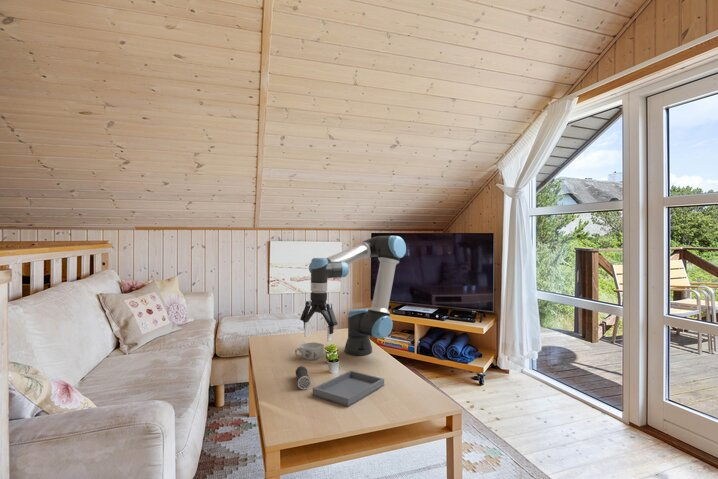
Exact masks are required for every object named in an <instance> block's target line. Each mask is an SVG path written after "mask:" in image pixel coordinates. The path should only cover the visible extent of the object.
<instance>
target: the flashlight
mask: <svg viewBox="0 0 718 479" xmlns="http://www.w3.org/2000/svg"><path fill="white" fill-rule="evenodd" d="M295 376H296V377H297V378H296V380H297V381H296V382H297V386H298V388H299V389H301V390H304V391H305V390H307V389H309V388H310V386H311V384H312V383H311V382H312V381H311V378H310V376H309V374H308V369H307V368H306V367H305V366H298V367H296V369H295Z"/></svg>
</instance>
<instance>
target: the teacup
mask: <svg viewBox="0 0 718 479" xmlns="http://www.w3.org/2000/svg"><path fill="white" fill-rule="evenodd" d="M324 347H325V344H323V343H319V342H304V343H301V344H300V345H299V347H297V348H296V349H295V350H294V354H295V355H296V357H300V358H303V359H304V360H306V361H307V360H308V361H309V360H310V361H312V360H318V359H320V358H321V356H322V354H323V351H324ZM298 351H299V352H300V355H299V354H297V352H298Z"/></svg>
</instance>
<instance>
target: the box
mask: <svg viewBox="0 0 718 479" xmlns="http://www.w3.org/2000/svg"><path fill="white" fill-rule="evenodd" d="M384 386H385V378H382V377H378V376H376V375H375V376H374V375H370V374H366V373H362V372H358V371H354V370H349V371H347V372H344V373H342V374H340V375H338V376H336V377H334V378H332V379H329V380H327V381H325V382H323V383H321V384H319V385H316V386H314V387H312V397H315V398H319V399H322V400H324V401H328V402H331V403H334V404H337V405H340V406H345V407H347V408H349V407H351V406H353V405H355V404H356V403H358V402H359V401H361V400H363V399H364V398H367V397H368V396H369V395H371V394H374V392H376V391H378V390H379V389H381V388H383V387H384Z"/></svg>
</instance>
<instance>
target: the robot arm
mask: <svg viewBox="0 0 718 479" xmlns="http://www.w3.org/2000/svg"><path fill="white" fill-rule="evenodd" d="M406 252H407V245H406V242H405V240H404V239H403V238H402V237H401V236H399V235H377V236H373V237H371V238H368V239H366V240H363V241H360V242H359V243H358V245H356V246H353V247H351V248H348V249H345V250H343V251H340V252H338V253H336V254H333V255H331V256H328V257H313V258H312V259H311V261H310V263H309V265H308V270H309V273H310V300H307V301H305V306H304V308H303V311H302V314H301V316H300V319H299V320H300V321H302V322H303V330H304V333H303V334H304V338H306V337H310V336H311V335H310V333H311V332H310V331H311V330H310V329H311V322H310V319H311V318H312V317H313V316H314V314H315V313H319V314H321V315H322V316H323V318H324V320H325V321H326V324H327V325H328V326H327V327H326V329H327V330H326V332H327V334H326V342H332V341H333V334H334V332H335V331H334V330H335V329H334V327H335V326H337V325H338V321H337V318H336V315H335V312H334V310H333V304H332V303H327V301H328V293H327V292H328V279H336V278H338V279H339V278H340V279H341V278H345V277H347V276H348V274H349V269H350V268H349V267H350V266H349V265H350V264H353V263H355V262H358V261H359V260H363V259H369V258H375V257H376V258H377V259H378V261H379V265H378V266H379V267H378V270H377V271H378V272H377V275H376V281H375V287H374V292H373V298H372V304H371V307H369V308H356V309H355V308H354V309H350V310H349V311H348V313H347V339H346V342H345V345H344V353H346V354H348V355H351V356H366V355H369V354H372V353H373V346H372V341H371V339H370V337H372V338H374V339H375V338H376V339H385V338H387V337H388V336H389V335H390V334H391V332H392V330H393V327H394V326H393V324H394V322H393V319H392V317H391V316H390V315H391V312H390V311H389V307H390V306H389V305H390V300H391V294H392V290H393V289H392V288H393V283H394V277H395V273H396V272H395V271H396V268H397V267H396V266H397V265H398V264H400V260H401V258H404V257H405V255H406Z"/></svg>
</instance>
